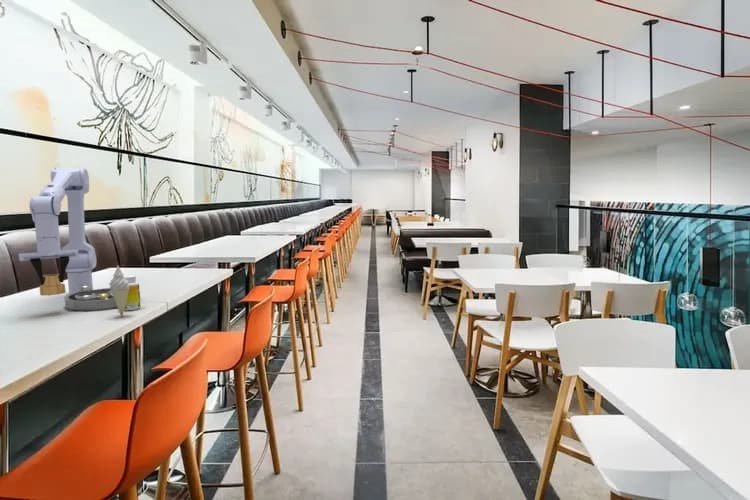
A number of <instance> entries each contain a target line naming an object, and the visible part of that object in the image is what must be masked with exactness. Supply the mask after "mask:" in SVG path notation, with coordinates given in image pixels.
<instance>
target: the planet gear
mask: <svg viewBox="0 0 750 500" xmlns="http://www.w3.org/2000/svg"><path fill="white" fill-rule="evenodd" d="M42 275H43V280H44V284H42V285H39V294H40V296H42V297H43V296H49V297H50V296H57V295H62V294H67V293H66V292H67V291H66V284H65V283H64V282H62V283H61V281H60V273H51V274H42Z"/></svg>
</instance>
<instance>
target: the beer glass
mask: <svg viewBox="0 0 750 500" xmlns="http://www.w3.org/2000/svg"><path fill="white" fill-rule="evenodd" d="M124 277H125V278H126V279H127V281H128V282H129V284H128V285H129V286H128V287H129V291H128V296H127V300H126V304H125V309H124V312H125V311H128V312H129V311H135V310H138V309H140V308H141V291H140V283H139V282H138V281H137V276H136V275H133V274H129V275H128V274H126V275H124ZM139 291H140V292H139Z"/></svg>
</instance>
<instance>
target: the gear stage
mask: <svg viewBox="0 0 750 500" xmlns="http://www.w3.org/2000/svg"><path fill="white" fill-rule="evenodd" d="M110 289H111V288H110V287H109V288H108V287H107V288H98V289H93V290H92V285H91V284H83V285H78V286H77V293H73V294H70V295H68V296H67V295H66V296H64V306H65V309H66V310H69V311H73V312H96V311H98V312H99V311H108V310H115V309H118V307H117V305H116V302H115V300H114V297H113V295H112V292H111V290H110ZM139 292H140V293H141V291H140V290H139Z"/></svg>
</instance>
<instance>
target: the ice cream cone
mask: <svg viewBox="0 0 750 500" xmlns="http://www.w3.org/2000/svg"><path fill="white" fill-rule="evenodd" d="M112 276H113V277H112V279H111V280H110V282H109V283H108V284H109V288H111V289H110V290H111V292H112V295H113V297H114V300H115V302H116V305H117V307H118V308H117V309H118V312H119V315H120V317H123V316H124V313H125V311H124V309H125V304H126V300H127V296H128V291H129V287H128V286H129V285H128V284H129V282H128V281H127V279H126V278H125V277H124V276H125V274H124V273H123V271H122V270H121V268H120V266H119V265H118V264H117V266H116V268H115V271H114V273H113V275H112Z"/></svg>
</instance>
